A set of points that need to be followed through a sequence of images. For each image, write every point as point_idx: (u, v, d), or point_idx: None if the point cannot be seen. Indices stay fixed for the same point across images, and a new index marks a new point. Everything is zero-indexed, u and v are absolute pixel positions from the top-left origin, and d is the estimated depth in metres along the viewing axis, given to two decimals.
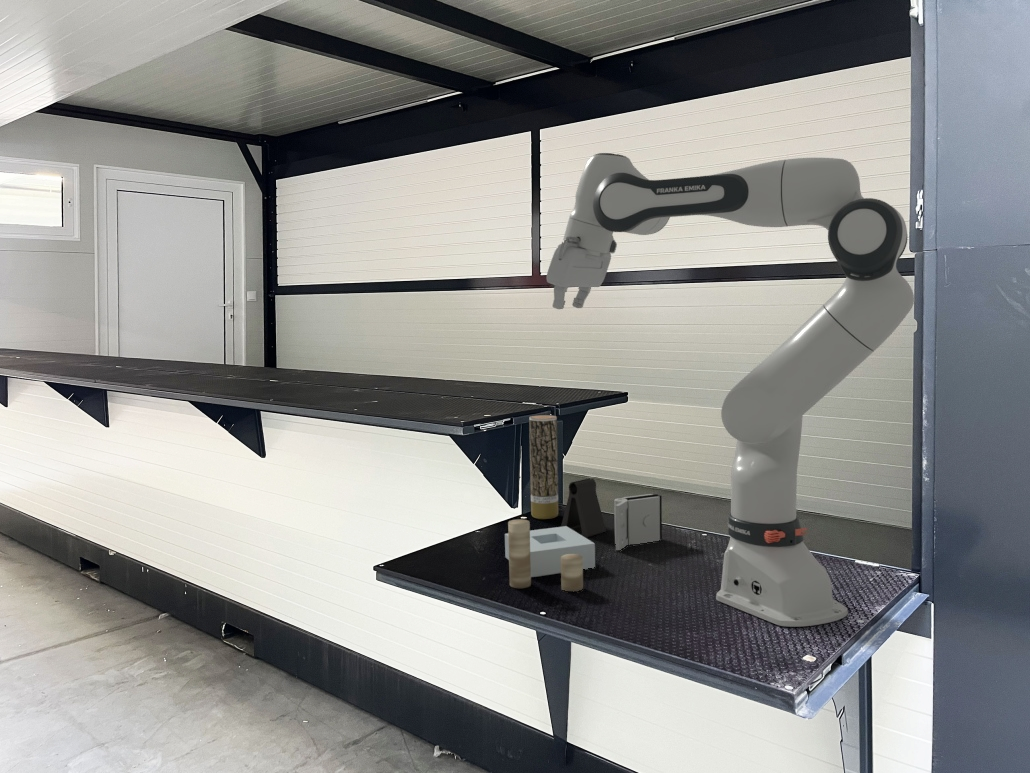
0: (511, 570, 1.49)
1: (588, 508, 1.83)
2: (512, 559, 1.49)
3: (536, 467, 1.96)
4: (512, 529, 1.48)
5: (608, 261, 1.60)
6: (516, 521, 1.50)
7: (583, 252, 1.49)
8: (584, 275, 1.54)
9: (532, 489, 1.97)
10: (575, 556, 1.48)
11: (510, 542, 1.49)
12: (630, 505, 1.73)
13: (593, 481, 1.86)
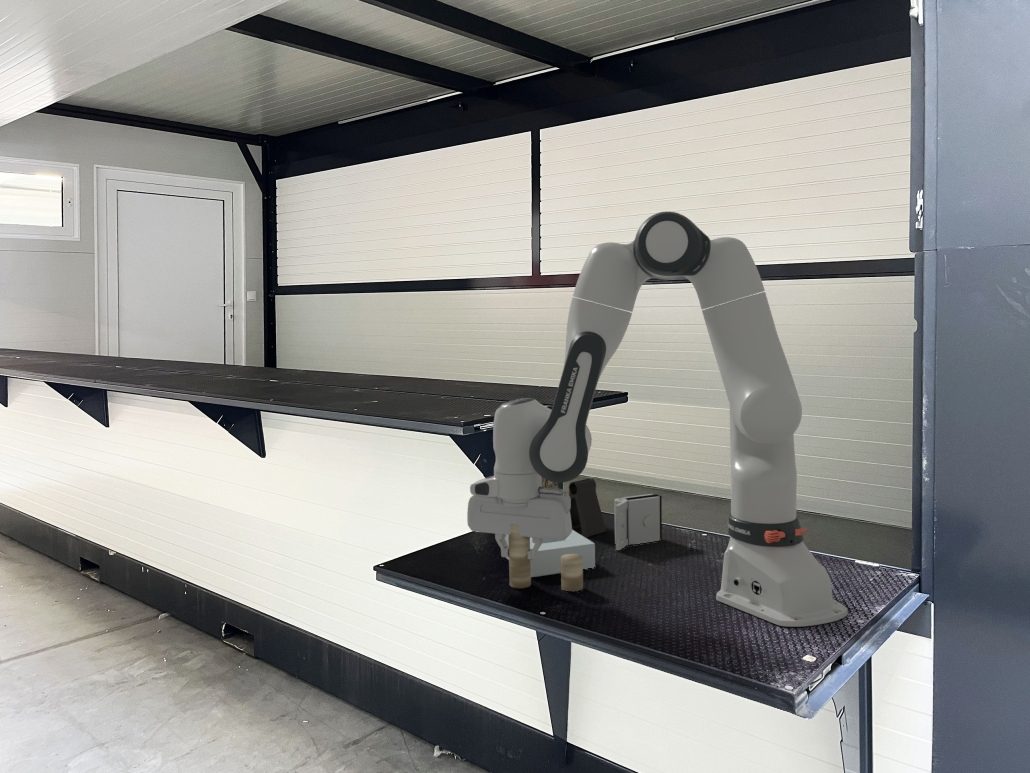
0: (511, 570, 1.49)
1: (588, 508, 1.83)
2: (512, 559, 1.49)
3: None
4: (512, 529, 1.48)
5: None
6: None
7: None
8: None
9: None
10: (575, 556, 1.48)
11: (510, 542, 1.49)
12: (630, 505, 1.73)
13: (593, 481, 1.86)
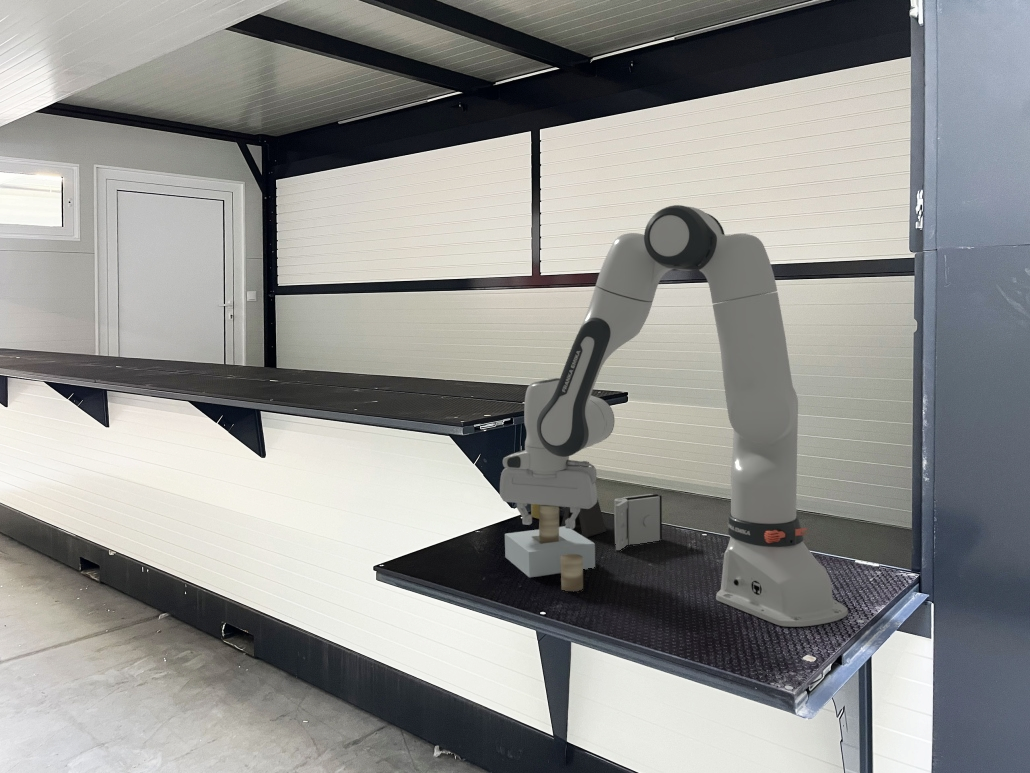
0: None
1: None
2: (542, 538, 1.62)
3: None
4: (543, 510, 1.61)
5: None
6: None
7: None
8: None
9: None
10: (575, 556, 1.48)
11: (541, 522, 1.62)
12: (630, 505, 1.73)
13: None
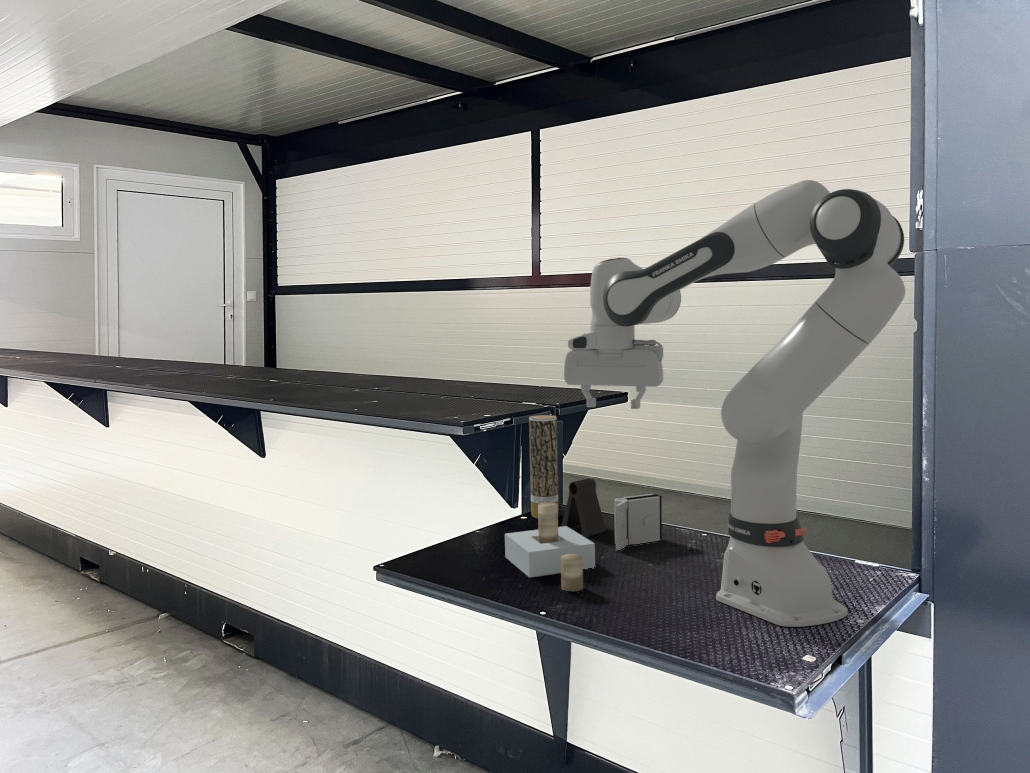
0: None
1: (588, 508, 1.83)
2: (541, 538, 1.62)
3: (536, 467, 1.96)
4: (542, 511, 1.61)
5: None
6: (545, 504, 1.63)
7: None
8: None
9: (532, 489, 1.97)
10: (575, 556, 1.48)
11: (540, 523, 1.62)
12: (630, 505, 1.73)
13: (593, 481, 1.86)
